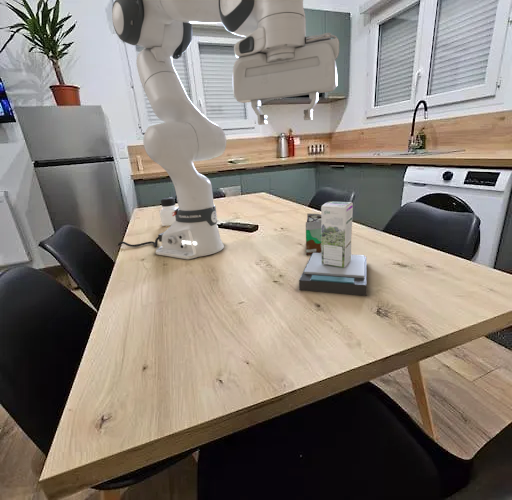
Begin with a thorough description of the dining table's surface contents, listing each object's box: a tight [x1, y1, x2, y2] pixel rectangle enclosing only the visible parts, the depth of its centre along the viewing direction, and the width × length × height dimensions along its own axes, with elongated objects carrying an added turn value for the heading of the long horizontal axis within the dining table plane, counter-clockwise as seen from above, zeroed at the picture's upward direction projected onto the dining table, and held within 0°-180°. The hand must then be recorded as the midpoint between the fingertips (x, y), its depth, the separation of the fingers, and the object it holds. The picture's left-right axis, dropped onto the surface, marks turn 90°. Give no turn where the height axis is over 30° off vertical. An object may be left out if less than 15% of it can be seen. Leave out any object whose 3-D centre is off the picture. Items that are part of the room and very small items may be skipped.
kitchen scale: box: [298, 252, 368, 297], centre depth 71 cm, size 14×17×3 cm
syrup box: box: [320, 201, 354, 268], centre depth 69 cm, size 6×6×14 cm
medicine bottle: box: [158, 197, 179, 227], centre depth 136 cm, size 7×7×12 cm
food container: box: [305, 213, 322, 256], centre depth 89 cm, size 12×6×10 cm, turn 168°
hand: (284, 122), depth 60 cm, fingers open, 8 cm apart
